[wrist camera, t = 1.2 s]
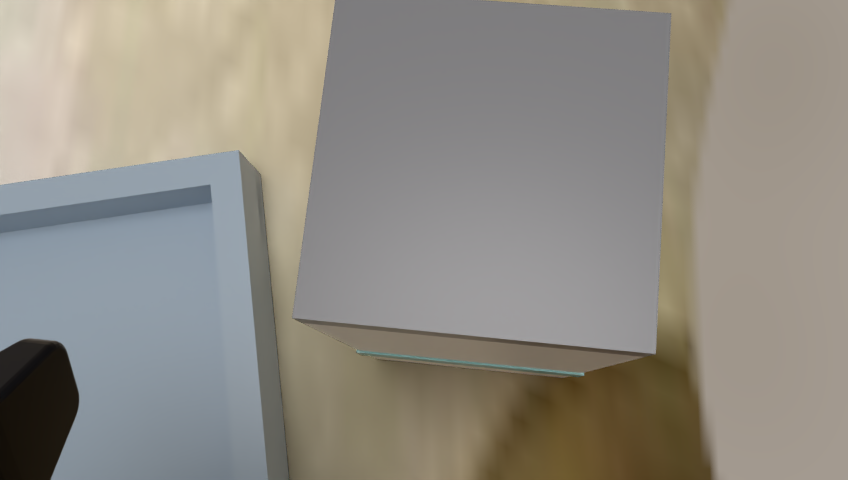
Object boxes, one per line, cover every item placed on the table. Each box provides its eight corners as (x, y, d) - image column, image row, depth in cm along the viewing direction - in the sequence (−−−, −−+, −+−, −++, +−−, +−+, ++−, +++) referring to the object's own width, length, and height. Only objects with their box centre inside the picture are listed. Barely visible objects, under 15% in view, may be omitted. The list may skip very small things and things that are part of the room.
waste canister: (565, 380, 21) (659, 357, 11) (374, 360, 21) (287, 321, 11) (577, 194, 22) (674, 10, 12) (394, 178, 22) (333, -13, 12)
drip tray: (301, 609, 20) (281, 634, 18) (-142, 666, 20) (-214, 698, 18) (260, 174, 23) (238, 150, 20) (-136, 232, 23) (-199, 213, 21)
